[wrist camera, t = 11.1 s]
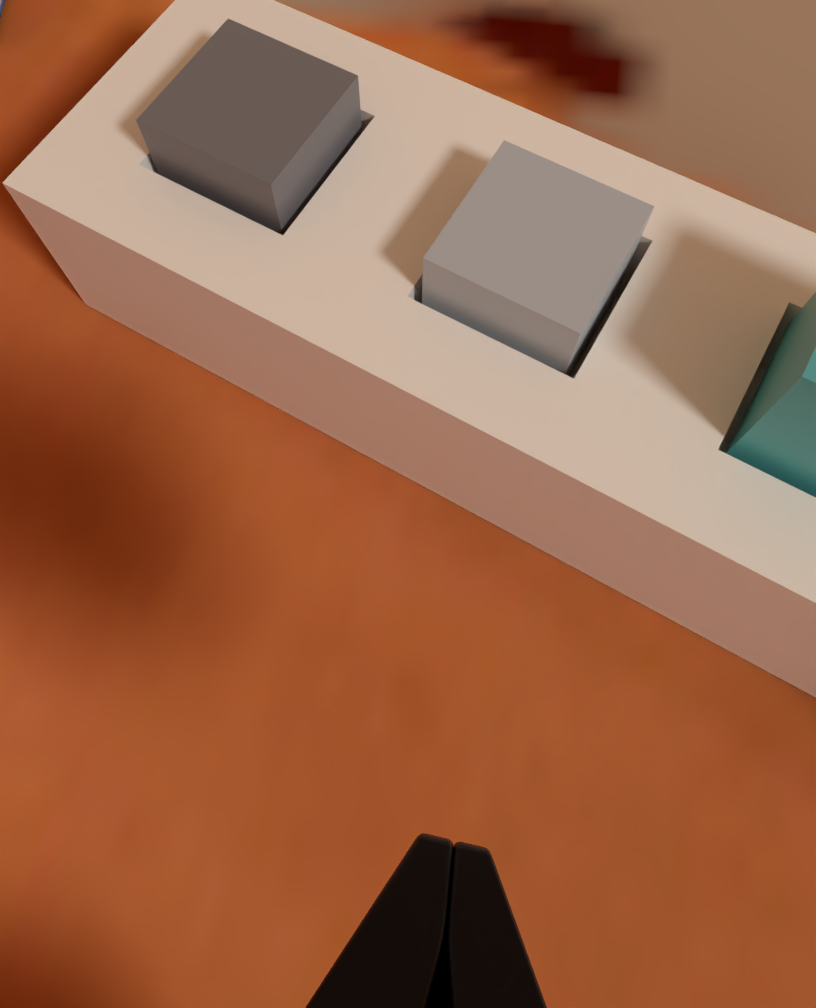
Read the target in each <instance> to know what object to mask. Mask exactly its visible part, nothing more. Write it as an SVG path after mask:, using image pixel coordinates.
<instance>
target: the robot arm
mask: <svg viewBox="0 0 816 1008" xmlns="http://www.w3.org/2000/svg"><path fill="white" fill-rule="evenodd" d="M306 1008H547V1007H546V1004H545V1001H544V999H543V996H542V993H541V990H540V988H539V985H538V982H537V979H536V977H535V974H534V971H533V968H532V966H531V963H530V960H529V957H528V954H527V952H526V949H525V946H524V943H523V941H522V938H521V935H520V932H519V930H518V927H517V924H516V921H515V919H514V916H513V913H512V910H511V907H510V905H509V902H508V899H507V896H506V894H505V891H504V888H503V885H502V883H501V880H500V877H499V874H498V872H497V869H496V866H495V863H494V861H493V858H492V855H491V853H490V852H489V850H488V849H487V848H484V847H481V846H477V845H472V844H468V843H464V842H457V843H455V845H454V846H453V844H452V842H451V841H450V840H449V839H446V838H442V837H438V836H433V835H429V834H420V835H419V836H418V837H417V838H416V839H415V841H414V842H413V844H412V845H411V847H410V849H409V850H408V852H407V853H406V855H405V856H404V858H403V859H402V861H401V862H400V864H399V865H398V867H397V868H396V870H395V871H394V873H393V875H392V876H391V878H390V879H389V881H388V882H387V884H386V885H385V887H384V888H383V890H382V891H381V893H380V894H379V896H378V897H377V899H376V900H375V902H374V904H373V905H372V907H371V908H370V910H369V911H368V913H367V914H366V916H365V917H364V919H363V920H362V922H361V923H360V925H359V926H358V928H357V930H356V931H355V933H354V934H353V936H352V937H351V939H350V940H349V942H348V943H347V945H346V946H345V948H344V949H343V951H342V952H341V954H340V956H339V957H338V959H337V960H336V962H335V963H334V965H333V966H332V968H331V969H330V971H329V972H328V974H327V975H326V977H325V978H324V980H323V982H322V983H321V985H320V986H319V988H318V989H317V991H316V992H315V994H314V995H313V997H312V998H311V1000H310V1001H309V1003H308V1004H307V1006H306Z"/></svg>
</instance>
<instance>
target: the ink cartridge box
mask: <svg viewBox="0 0 816 1008" xmlns="http://www.w3.org/2000/svg"><path fill="white" fill-rule="evenodd" d="M4 1H5V0H0V16H1V12H2V9H3V6H4Z"/></svg>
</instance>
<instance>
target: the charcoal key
mask: <svg viewBox="0 0 816 1008" xmlns="http://www.w3.org/2000/svg"><path fill="white" fill-rule="evenodd" d="M136 121H137V124H138V126H139V128H140V131H141V133H142V136H143V138H144V140H145V143H146V145H147V148H148V150H149V152H150V155H151V157H152V160H153V162H154V164H155V167H156V169H157V172H158V174H159V175H161V176H163V177H165V178H167V179H169V180H171V181H173V182H175V183H177V184H179V185H181V186H183V187H185V188H187V189H189V190H191V191H193V192H195V193H198V194H200V195H202V196H204V197H206V198H208V199H210V200H212V201H214V202H216V203H218V204H220V205H222V206H224V207H226V208H228V209H230V210H232V211H234V212H236V213H238V214H240V215H242V216H244V217H246V218H248V219H250V220H252V221H254V222H256V223H259V224H261V225H263V226H265V227H267V228H269V229H271V230H273V231H275V232H277V233H279V234H281V235H284V234H285V232H286V231H287V230H288V228H289V227H290V226H291V224H292V223H293V222H294V221H295V219H296V218H297V217H298V215H299V214H300V213H301V212H302V210H303V209H304V208H305V206H306V205H307V204H308V202H309V201H310V200H311V199H312V197H313V196H314V195H315V193H316V192H317V191H318V189H319V188H320V187H321V186H322V184H323V183H324V182H325V180H326V179H327V178H328V176H329V175H330V174H331V173H332V171H333V170H334V169H335V167H336V166H337V165H338V163H339V162H340V161H341V160H342V158H343V157H344V156H345V154H346V153H347V152H348V151H349V149H350V148H351V147H352V145H353V144H354V143H355V141H356V140H357V139H358V138H359V136H360V135H361V134H362V123H361V109H360V95H359V81H358V75H356V74H353V73H351V72H349V71H347V70H344V69H342V68H340V67H337V66H335V65H333V64H331V63H328V62H326V61H324V60H322V59H319V58H317V57H315V56H312V55H310V54H308V53H306V52H303V51H301V50H299V49H297V48H294V47H292V46H290V45H287V44H285V43H283V42H281V41H278V40H276V39H274V38H272V37H269V36H267V35H265V34H263V33H260V32H258V31H256V30H253V29H251V28H249V27H247V26H244V25H242V24H240V23H238V22H235V21H233V20H231V19H227V20H226V21H225V22H224V23H223V25H222V26H221V27H220V28H219V29H218V30H217V31H216V32H215V33H214V34H213V36H212V37H211V38H210V39H209V40H208V41H207V42H206V43H205V44H204V46H203V47H202V48H201V49H200V50H199V51H198V52H197V53H196V54H195V55H194V57H193V58H192V59H191V60H190V61H189V62H188V63H187V64H186V65H185V67H184V68H183V69H182V70H181V71H180V72H179V73H178V74H177V75H176V76H175V78H174V79H173V80H172V81H171V82H170V83H169V84H168V85H167V86H166V88H165V89H164V90H163V91H162V92H161V93H160V94H159V95H158V96H157V97H156V99H155V100H154V101H153V102H152V103H151V104H150V105H149V106H148V107H147V109H146V110H145V111H144V112H143V113H142V114H141V115H140V116H139V117H138V118H137V120H136Z"/></svg>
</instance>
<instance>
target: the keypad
mask: <svg viewBox="0 0 816 1008" xmlns="http://www.w3.org/2000/svg"><path fill="white" fill-rule="evenodd" d="M227 19H231V20H233V21H235V22H238V23H240V24H242V25H244V26H247V27H249V28H251V29H253V30H256V31H258V32H260V33H263V34H265V35H267V36H269V37H272V38H274V39H276V40H278V41H281V42H283V43H285V44H287V45H290V46H292V47H294V48H297V49H299V50H301V51H303V52H306V53H308V54H310V55H312V56H315V57H317V58H319V59H322V60H324V61H326V62H328V63H331V64H333V65H335V66H337V67H340V68H342V69H344V70H347V71H349V72H351V73H353V74H356V75H358V81H359V95H360V109H361V123H362V134H361V135H360V136H359V138H358V139H357V140H356V141H355V143H354V144H353V145H352V147H351V148H350V149H349V151H348V152H347V153H346V154H345V156H344V157H343V158H342V160H341V161H340V162H339V163H338V165H337V166H336V167H335V169H334V170H333V171H332V173H331V174H330V175H329V176H328V178H327V179H326V180H325V182H324V183H323V184H322V186H321V187H320V188H319V189H318V191H317V192H316V193H315V195H314V196H313V197H312V199H311V200H310V201H309V202H308V204H307V205H306V206H305V208H304V209H303V210H302V212H301V213H300V214H299V215H298V217H297V218H296V219H295V221H294V222H293V223H292V224H291V226H290V227H289V228H288V230H287V231H286V232H285V234H284V235H281V234H279V233H277V232H275V231H273V230H271V229H269V228H267V227H265V226H263V225H261V224H259V223H256V222H254V221H252V220H250V219H248V218H246V217H244V216H242V215H240V214H238V213H236V212H234V211H232V210H230V209H228V208H226V207H224V206H222V205H220V204H218V203H216V202H214V201H212V200H210V199H208V198H206V197H204V196H202V195H200V194H198V193H195V192H193V191H191V190H189V189H187V188H185V187H183V186H181V185H179V184H177V183H175V182H173V181H171V180H169V179H167V178H165V177H163V176H161V175H159V174H158V172H157V169H156V167H155V164H154V162H153V160H152V157H151V155H150V152H149V150H148V148H147V145H146V143H145V140H144V138H143V136H142V133H141V131H140V128H139V126H138V124H137V121H136V120H137V118H138V117H139V116H140V115H141V114H142V113H143V112H144V111H145V110H146V109H147V107H148V106H149V105H150V104H151V103H152V102H153V101H154V100H155V99H156V97H157V96H158V95H159V94H160V93H161V92H162V91H163V90H164V89H165V88H166V86H167V85H168V84H169V83H170V82H171V81H172V80H173V79H174V78H175V76H176V75H177V74H178V73H179V72H180V71H181V70H182V69H183V68H184V67H185V65H186V64H187V63H188V62H189V61H190V60H191V59H192V58H193V57H194V55H195V54H196V53H197V52H198V51H199V50H200V49H201V48H202V47H203V46H204V44H205V43H206V42H207V41H208V40H209V39H210V38H211V37H212V36H213V34H214V33H215V32H216V31H217V30H218V29H219V28H220V27H221V26H222V25H223V23H224V22H225V21H226V20H227ZM504 140H505V141H507V142H509V143H512V144H514V145H516V146H519V147H521V148H523V149H525V150H528V151H530V152H532V153H534V154H537V155H539V156H541V157H544V158H546V159H548V160H550V161H553V162H555V163H557V164H559V165H562V166H564V167H566V168H569V169H571V170H573V171H575V172H578V173H580V174H582V175H584V176H587V177H589V178H591V179H593V180H596V181H598V182H600V183H603V184H605V185H607V186H609V187H612V188H614V189H616V190H618V191H621V192H623V193H625V194H628V195H630V196H632V197H634V198H637V199H639V200H641V201H643V202H646V203H648V204H650V205H653V206H654V209H653V211H652V213H651V216H650V218H649V220H648V223H647V225H646V227H645V230H644V232H643V234H642V237H641V239H640V241H639V244H638V246H637V248H636V251H635V253H634V255H633V257H632V260H631V262H630V264H629V267H628V269H627V271H626V274H625V276H624V278H623V281H622V283H621V285H620V288H619V290H618V292H617V295H616V297H615V299H614V301H613V302H612V304H611V306H610V308H609V309H608V311H607V313H606V315H605V316H604V318H603V320H602V321H601V323H600V325H599V327H598V328H597V330H596V332H595V334H594V335H593V337H592V339H591V341H590V342H589V344H588V346H587V348H586V349H585V351H584V353H583V355H582V356H581V358H580V360H579V362H578V363H577V365H576V367H575V369H574V370H573V372H572V374H571V376H568V375H565V374H563V373H561V372H559V371H557V370H555V369H553V368H551V367H549V366H547V365H545V364H543V363H541V362H539V361H537V360H535V359H533V358H531V357H529V356H527V355H525V354H523V353H521V352H519V351H517V350H515V349H513V348H511V347H509V346H507V345H505V344H502V343H500V342H498V341H496V340H494V339H492V338H490V337H488V336H486V335H484V334H482V333H480V332H478V331H476V330H474V329H472V328H470V327H468V326H466V325H464V324H462V323H460V322H458V321H456V320H454V319H452V318H450V317H448V316H446V315H444V314H441V313H439V312H437V311H435V310H433V309H431V308H429V307H427V306H425V305H423V304H422V278H423V257H424V256H425V254H426V253H427V252H428V250H429V249H430V247H431V246H432V244H433V243H434V241H435V240H436V238H437V237H438V236H439V234H440V233H441V231H442V230H443V228H444V227H445V225H446V224H447V222H448V221H449V220H450V218H451V217H452V215H453V214H454V212H455V211H456V209H457V208H458V206H459V205H460V204H461V202H462V201H463V199H464V198H465V196H466V195H467V193H468V192H469V190H470V189H471V188H472V186H473V185H474V183H475V182H476V180H477V179H478V177H479V176H480V174H481V173H482V171H483V170H484V169H485V167H486V166H487V164H488V163H489V161H490V160H491V158H492V157H493V155H494V154H495V153H496V151H497V150H498V148H499V147H500V145H501V144H502V142H503V141H504ZM3 185H4V186H5V188H6V189H7V191H8V192H9V194H10V195H11V196H12V198H13V199H14V201H15V202H16V204H17V205H18V207H19V208H20V210H21V211H22V212H23V214H24V215H25V217H26V218H27V220H28V221H29V223H30V224H31V226H32V227H33V228H34V230H35V231H36V233H37V234H38V236H39V237H40V239H41V240H42V242H43V243H44V244H45V246H46V247H47V249H48V250H49V252H50V253H51V255H52V256H53V258H54V259H55V260H56V262H57V263H58V265H59V266H60V268H61V269H62V271H63V272H64V274H65V275H66V277H67V278H68V279H69V281H70V282H71V284H72V285H73V287H74V288H75V290H76V291H77V293H78V294H79V295H80V297H81V298H82V300H83V301H84V303H85V304H86V305H87V306H89V307H91V308H93V309H95V310H97V311H99V312H100V313H102V314H104V315H106V316H108V317H110V318H112V319H113V320H115V321H117V322H119V323H121V324H123V325H125V326H126V327H128V328H130V329H132V330H134V331H136V332H138V333H139V334H141V335H143V336H145V337H147V338H149V339H151V340H152V341H154V342H156V343H158V344H160V345H162V346H164V347H165V348H167V349H169V350H171V351H173V352H175V353H177V354H178V355H180V356H182V357H184V358H186V359H188V360H190V361H191V362H193V363H195V364H197V365H199V366H201V367H203V368H204V369H206V370H208V371H210V372H212V373H214V374H216V375H217V376H219V377H221V378H223V379H225V380H227V381H229V382H230V383H232V384H234V385H236V386H238V387H240V388H242V389H243V390H245V391H247V392H249V393H251V394H253V395H255V396H256V397H258V398H260V399H262V400H264V401H266V402H268V403H269V404H271V405H273V406H275V407H277V408H279V409H281V410H282V411H284V412H286V413H288V414H290V415H292V416H294V417H295V418H297V419H299V420H301V421H303V422H305V423H307V424H308V425H310V426H312V427H314V428H316V429H318V430H320V431H321V432H323V433H325V434H327V435H329V436H331V437H333V438H334V439H336V440H338V441H340V442H342V443H344V444H346V445H347V446H349V447H351V448H353V449H355V450H357V451H359V452H360V453H362V454H364V455H366V456H368V457H370V458H372V459H373V460H375V461H377V462H379V463H381V464H383V465H385V466H386V467H388V468H390V469H392V470H394V471H396V472H398V473H399V474H401V475H403V476H405V477H407V478H409V479H411V480H412V481H414V482H416V483H418V484H420V485H422V486H424V487H425V488H427V489H429V490H431V491H433V492H435V493H437V494H438V495H440V496H442V497H444V498H446V499H448V500H449V501H451V502H453V503H455V504H457V505H459V506H461V507H462V508H464V509H466V510H468V511H470V512H472V513H474V514H475V515H477V516H479V517H481V518H483V519H485V520H487V521H488V522H490V523H492V524H494V525H496V526H498V527H500V528H501V529H503V530H505V531H507V532H509V533H511V534H513V535H514V536H516V537H518V538H520V539H522V540H524V541H526V542H527V543H529V544H531V545H533V546H535V547H537V548H539V549H540V550H542V551H544V552H546V553H548V554H550V555H552V556H553V557H555V558H557V559H559V560H561V561H563V562H565V563H566V564H568V565H570V566H572V567H574V568H576V569H578V570H579V571H581V572H583V573H585V574H587V575H589V576H591V577H592V578H594V579H596V580H598V581H600V582H602V583H604V584H605V585H607V586H609V587H611V588H613V589H615V590H617V591H618V592H620V593H622V594H624V595H626V596H628V597H630V598H631V599H633V600H635V601H637V602H639V603H641V604H643V605H644V606H646V607H648V608H650V609H652V610H654V611H656V612H657V613H659V614H661V615H663V616H665V617H667V618H669V619H670V620H672V621H674V622H676V623H678V624H680V625H682V626H683V627H685V628H687V629H689V630H691V631H693V632H695V633H696V634H698V635H700V636H702V637H704V638H706V639H708V640H709V641H711V642H713V643H715V644H717V645H719V646H721V647H722V648H724V649H726V650H728V651H730V652H732V653H734V654H735V655H737V656H739V657H741V658H743V659H745V660H747V661H748V662H750V663H752V664H754V665H756V666H758V667H760V668H761V669H763V670H765V671H767V672H769V673H771V674H773V675H774V676H776V677H778V678H780V679H782V680H784V681H786V682H787V683H789V684H791V685H793V686H795V687H797V688H799V689H800V690H802V691H804V692H806V693H808V694H810V695H812V696H813V697H815V698H816V497H814V496H811V495H809V494H807V493H805V492H803V491H801V490H799V489H797V488H795V487H793V486H791V485H789V484H787V483H785V482H783V481H781V480H779V479H777V478H775V477H773V476H771V475H769V474H767V473H765V472H763V471H761V470H759V469H757V468H755V467H753V466H751V465H748V464H746V463H744V462H742V461H740V460H738V459H736V458H734V457H732V456H730V455H728V454H726V453H727V451H728V449H729V447H730V444H731V442H732V440H733V438H734V436H735V434H736V432H737V430H738V428H739V426H740V424H741V421H742V419H743V417H744V415H745V413H746V411H747V409H748V407H749V405H750V403H751V400H752V398H753V396H754V394H755V392H756V390H757V388H758V386H759V384H760V382H761V380H762V377H763V375H764V373H765V371H766V369H767V367H768V365H769V363H770V361H771V359H772V356H773V354H774V352H775V350H776V348H777V346H778V344H779V342H780V340H781V338H782V336H783V333H784V331H785V329H786V327H787V325H788V324H789V323H790V322H791V321H792V319H793V318H794V317H795V316H796V315H797V313H798V312H799V311H800V310H801V309H802V307H803V306H804V305H805V304H806V303H807V301H808V300H809V299H810V298H811V297H812V296H813V294H814V293H815V292H816V233H813V232H811V231H809V230H807V229H804V228H802V227H800V226H797V225H795V224H793V223H790V222H788V221H786V220H783V219H781V218H779V217H776V216H774V215H772V214H769V213H767V212H765V211H762V210H760V209H758V208H755V207H753V206H751V205H748V204H746V203H744V202H741V201H739V200H737V199H734V198H732V197H730V196H727V195H725V194H723V193H721V192H718V191H716V190H714V189H711V188H709V187H707V186H704V185H702V184H700V183H697V182H695V181H693V180H690V179H688V178H686V177H683V176H681V175H679V174H676V173H674V172H672V171H669V170H667V169H665V168H662V167H660V166H658V165H655V164H653V163H651V162H648V161H646V160H644V159H641V158H639V157H637V156H635V155H632V154H630V153H628V152H625V151H623V150H621V149H618V148H616V147H614V146H611V145H609V144H607V143H604V142H602V141H600V140H597V139H595V138H593V137H590V136H588V135H586V134H583V133H581V132H579V131H576V130H574V129H572V128H569V127H567V126H565V125H562V124H560V123H558V122H555V121H553V120H551V119H549V118H546V117H544V116H542V115H539V114H537V113H535V112H532V111H530V110H528V109H525V108H523V107H521V106H518V105H516V104H514V103H511V102H509V101H507V100H504V99H502V98H500V97H497V96H495V95H493V94H490V93H488V92H486V91H483V90H481V89H479V88H476V87H474V86H472V85H469V84H467V83H465V82H462V81H460V80H458V79H456V78H453V77H451V76H449V75H446V74H444V73H442V72H439V71H437V70H435V69H432V68H430V67H428V66H425V65H423V64H421V63H418V62H416V61H414V60H411V59H409V58H407V57H404V56H402V55H400V54H397V53H395V52H393V51H390V50H388V49H386V48H383V47H381V46H379V45H376V44H374V43H372V42H370V41H367V40H365V39H363V38H360V37H358V36H356V35H353V34H351V33H349V32H346V31H344V30H342V29H339V28H337V27H335V26H332V25H330V24H328V23H325V22H323V21H321V20H318V19H316V18H314V17H311V16H309V15H307V14H304V13H302V12H300V11H297V10H295V9H293V8H290V7H288V6H286V5H284V4H281V3H279V2H277V1H274V0H175V1H174V2H173V3H172V4H171V5H170V6H169V7H168V8H167V9H166V11H165V12H164V13H163V14H162V15H161V16H160V17H159V18H158V19H157V20H156V21H155V22H154V23H153V24H152V25H151V26H150V27H149V28H148V30H147V31H146V32H145V33H144V34H143V35H142V36H141V37H140V38H139V39H138V40H137V41H136V42H135V43H134V44H133V45H132V46H131V47H130V49H129V50H128V51H127V52H126V53H125V54H124V55H123V56H122V57H121V58H120V59H119V60H118V61H117V62H116V63H115V64H114V65H113V66H112V68H111V69H110V70H109V71H108V72H107V73H106V74H105V75H104V76H103V77H102V78H101V79H100V80H99V81H98V82H97V83H96V84H95V85H94V87H93V88H92V89H91V90H90V91H89V92H88V93H87V94H86V95H85V96H84V97H83V98H82V99H81V100H80V101H79V102H78V103H77V104H76V106H75V107H74V108H73V109H72V110H71V111H70V112H69V113H68V114H67V115H66V116H65V117H64V118H63V119H62V120H61V121H60V122H59V123H58V125H57V126H56V127H55V128H54V129H53V130H52V131H51V132H50V133H49V134H48V135H47V136H46V137H45V138H44V139H43V140H42V141H41V142H40V144H39V145H38V146H37V147H36V148H35V149H34V150H33V151H32V152H31V153H30V154H29V155H28V156H27V157H26V158H25V159H24V160H23V161H22V163H21V164H20V165H19V166H18V167H17V168H16V169H15V170H14V171H13V172H12V173H11V174H10V175H9V176H8V177H7V178H6V179H5V180H4V182H3Z"/></svg>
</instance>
